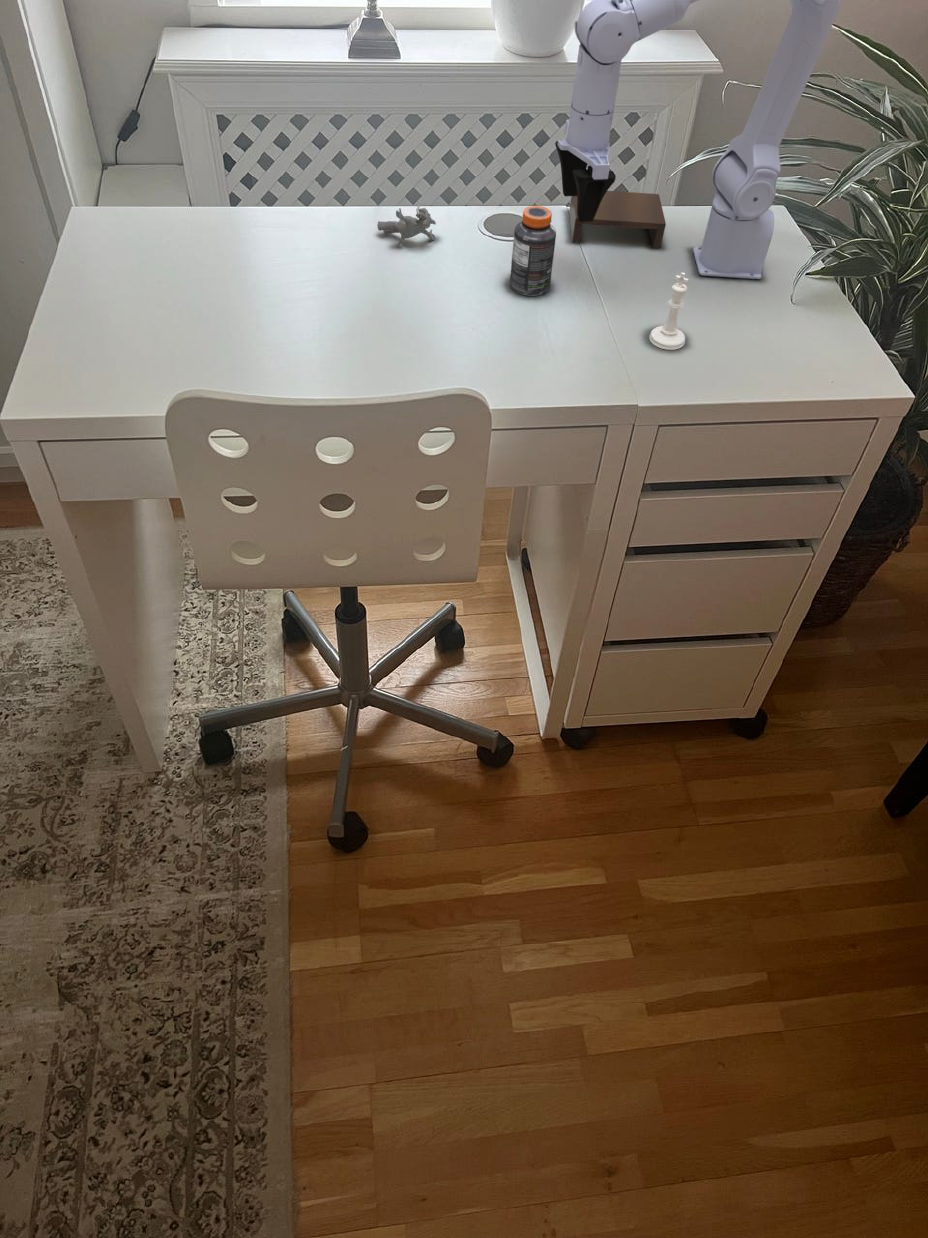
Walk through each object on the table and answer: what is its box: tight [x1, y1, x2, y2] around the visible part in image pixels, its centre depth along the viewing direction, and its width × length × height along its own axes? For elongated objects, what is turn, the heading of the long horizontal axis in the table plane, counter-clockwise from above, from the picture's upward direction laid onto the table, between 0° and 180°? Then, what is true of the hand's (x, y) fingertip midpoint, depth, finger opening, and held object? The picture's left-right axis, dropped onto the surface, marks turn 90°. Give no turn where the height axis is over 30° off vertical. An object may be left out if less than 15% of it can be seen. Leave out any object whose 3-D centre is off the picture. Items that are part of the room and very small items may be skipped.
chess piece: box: [648, 272, 689, 351], centre depth 130 cm, size 5×5×10 cm
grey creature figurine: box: [377, 203, 437, 248], centre depth 146 cm, size 10×6×9 cm
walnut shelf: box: [568, 190, 667, 249], centre depth 153 cm, size 14×10×4 cm
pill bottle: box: [509, 205, 557, 297], centre depth 137 cm, size 6×6×11 cm
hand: (577, 207), depth 138 cm, fingers open, 7 cm apart
